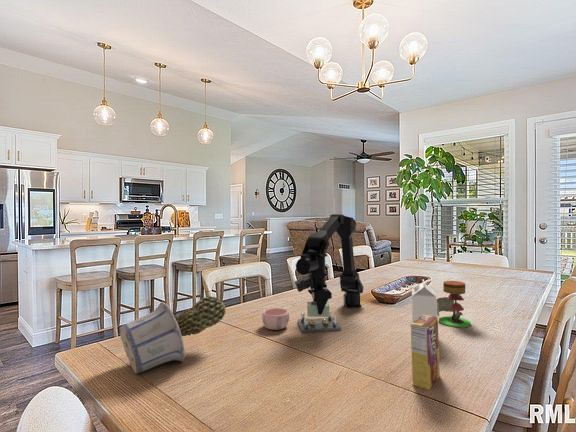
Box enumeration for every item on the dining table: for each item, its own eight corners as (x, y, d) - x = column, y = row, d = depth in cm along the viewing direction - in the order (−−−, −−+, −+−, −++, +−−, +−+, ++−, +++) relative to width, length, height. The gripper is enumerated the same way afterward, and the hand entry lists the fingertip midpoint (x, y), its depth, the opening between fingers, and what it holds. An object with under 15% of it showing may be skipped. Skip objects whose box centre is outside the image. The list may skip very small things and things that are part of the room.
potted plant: (125, 331, 81) (229, 283, 100) (109, 317, 95) (204, 277, 113) (146, 395, 83) (244, 336, 102) (128, 372, 97) (217, 324, 116)
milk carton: (434, 335, 112) (434, 279, 111) (436, 344, 105) (436, 284, 105) (412, 333, 114) (411, 278, 114) (412, 341, 107) (412, 283, 107)
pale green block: (329, 312, 125) (328, 300, 125) (329, 316, 120) (329, 304, 120) (307, 312, 126) (307, 300, 126) (307, 316, 121) (307, 304, 121)
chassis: (333, 320, 129) (333, 309, 129) (340, 330, 118) (340, 319, 118) (297, 321, 128) (297, 311, 128) (301, 332, 117) (301, 321, 117)
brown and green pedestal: (476, 321, 125) (476, 281, 125) (467, 330, 116) (466, 287, 115) (443, 314, 133) (443, 277, 133) (432, 323, 124) (431, 283, 124)
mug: (293, 329, 120) (293, 313, 120) (267, 334, 116) (267, 317, 116) (281, 319, 131) (281, 304, 131) (257, 323, 127) (257, 308, 127)
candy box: (422, 370, 88) (422, 313, 88) (440, 376, 85) (439, 317, 85) (410, 384, 81) (410, 323, 81) (429, 390, 79) (428, 326, 78)
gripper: (292, 266, 131) (293, 305, 131) (299, 276, 113) (300, 321, 113) (320, 265, 132) (321, 304, 133) (331, 274, 114) (332, 319, 114)
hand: (318, 312), depth 123 cm, fingers closed on pale green block, 5 cm apart
